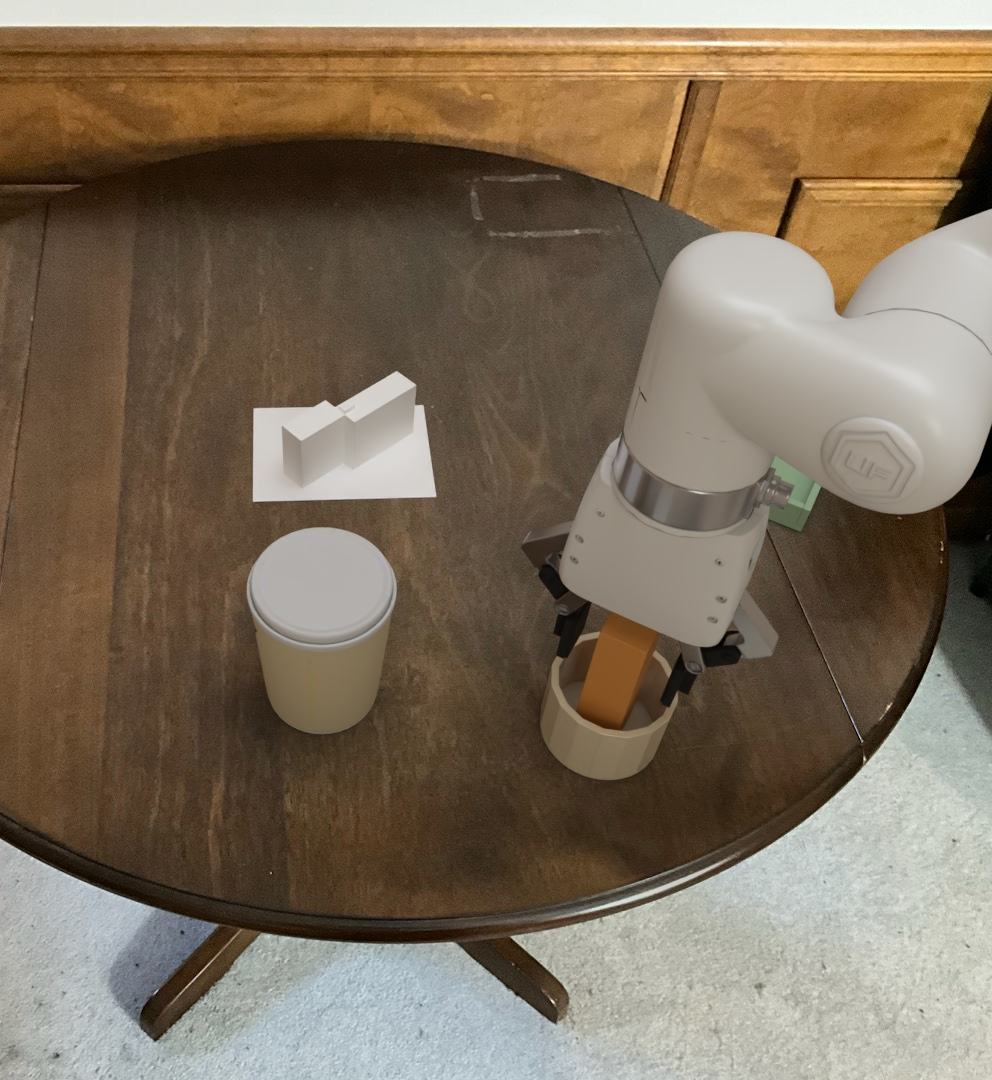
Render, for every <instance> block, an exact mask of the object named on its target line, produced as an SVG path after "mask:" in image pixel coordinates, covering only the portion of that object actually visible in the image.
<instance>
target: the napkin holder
mask: <svg viewBox="0 0 992 1080" xmlns="http://www.w3.org/2000/svg"><path fill="white" fill-rule="evenodd" d="M416 395H417V384H416V383H415V382H413V381H412V380H410V378H409V379H408V377H406V376H404V375H403V374H402V373H401V372H399V371H397V370H396V371H394V372H392V373H391V374H389V375H387V376H386V377H384V378H383V379H381V380H379V381H377V382H376V383H374V384H372V385H370V386H369V387H367V388H365V389H363V390H362V391H360V392H358V393H356V394H354V395H353V396H351V397H350V398H348V399H347V400H345V401H343V402H341V403H339V404H337V405H336V406H334V405H333V404H332V403H330V402H329V401H327V400H326V399H325V400H323V401H322V402H320V403H318V404H316V405H315V406H309V407H308V406H303V407H254V408H253V416H252V417H253V419H252V421H253V422H252V423H253V424H252V425H253V427H252V428H253V429H252V430H253V433H252V502H253V503H257V502H258V503H260V502H262V503H263V502H298V501H299V502H300V501H301V502H302V501H335V500H339V501H340V500H374V499H375V500H376V499H380V500H381V499H417V498H420V499H421V498H437V492H436V483H435V476H434V470H433V464H432V462H433V461H432V456H431V449H430V443H429V442H430V441H429V436H428V428H427V421H426V413H425V406H424V404H416Z"/></svg>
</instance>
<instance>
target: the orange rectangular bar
mask: <svg viewBox="0 0 992 1080" xmlns="http://www.w3.org/2000/svg"><path fill="white" fill-rule="evenodd" d="M599 631H600V634H599V637H598V640H597V644H596V647H595V650H594V653H593V657H592V660H591V663H590V666H589V670H588V673H587V676H586V679H585V683H584V686H583V689H582V693H581V696H580V699H579V702H578V706H577V709H576V712H577V713H578V714H579V715H580V716H581V717H582V718H583V719H585V720H587V721H589V722H591V723H593V724H595V725H598V726H600V727H602V728H604V729H612V730H620V731H622V730H623V728H624V726H625V724H626V722H627V720H628V718H629V716H630V714H631V712H632V710H633V707H634V704H635V702H636V699H637V696H638V694H639V691H640V688H641V686H642V683H643V680H644V678H645V675H646V672H647V670H648V667H649V665H650V662H651V659H652V657H653V654H654V651H655V650H656V648H657V646H658V643H659V641H660V638H661V635H662V633H660V632H657V631H655V630H653V629H650V628H648V627H646V626H644V625H641V624H639V623H637V622H634V621H632V620H630V619H628V618H625V617H623V616H621V615H619V614H616V613H614V612H612V611H610V613H609V615H608V616H607V618H606V620H605V622H604V624H603V625H602V628H601V630H599Z"/></svg>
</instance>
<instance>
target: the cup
mask: <svg viewBox="0 0 992 1080" xmlns="http://www.w3.org/2000/svg"><path fill="white" fill-rule="evenodd" d="M600 631H601V630H599V631H594V632H591V633H586V634H581V635H580V637H579V638H578V640H577V642H576V644H575V646H574V647H573V649H572V651H571V653H570V655H569V656H568V658H564V659H562V658H560V657H558V656H556V655H555V656H556V657H555V658H554V660H553V662H552V664H551V667H550V669H549V670H550V671H549V675H548V678H547V682H546V686H545V689H544V694H543V697H542V701H541V704H540V714H539V728H540V734H541V736H542V739H543V742H544V743H545V745H546V747H547V749H548V750H549V752H550V753H551V754H552V755H553V756H554V758H555V759H556V760H557V761H559V763H561V764H562V765H563V766H565V767H566V768H567V769H569V770H571V771H572V772H574V773H575V774H577V775H578V774H579V775H581V776H583V777H585V778H590V779H594V780H600V781H616V780H623V779H626V778H630V777H632V776H635V775H636V774H638V773H639V772H642V770H644V769H645V768H646V767H647V766H648V765H650V763H651V761H653V759H654V758H655V756H656V753H657V751H658V749H659V747H660V745H661V743H662V740H663V738H664V735H665V733H666V731H667V728H668V726H669V724H670V722H671V719H672V717H673V715H674V712H675V710H676V708H677V705H678V703H679V691H677V693H676V695H675V697H674V700H673V702H672V704H671V706H670V708H669V707H666V706H664V705H662V703H663V702H661V701H660V699H661V697H662V694H663V692H664V689H665V687H666V684H667V682H668V679H669V677H670V674H671V672H672V670H673V669H672V668H671V666H670V664H669V662H668V661H667V659H666V658H664V657H663V656H662V654H660V653H659V652H658V651H657V650H656V649H655V651H654V654H653V657H652V659H651V662H650V665H649V667H648V670H647V672H646V675H645V678H644V680H643V683H642V686H641V688H640V691H639V694H638V696H637V699H636V702H635V704H634V707H633V710H632V712H631V714H630V716H629V718H628V720H627V722H626V724H625V726H624V728H623V730H622V731H620V730H612V729H604V728H602V727H600V726H598V725H595V724H593V723H591V722H589V721H587V720H585V719H583V718H582V717H581V716H580V715H579V714H578V713H577V712H576V709H577V706H578V702H579V699H580V696H581V693H582V689H583V686H584V683H585V679H586V676H587V673H588V670H589V666H590V663H591V660H592V657H593V653H594V650H595V647H596V644H597V640H598V637H599V634H600Z"/></svg>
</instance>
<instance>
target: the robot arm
mask: <svg viewBox="0 0 992 1080" xmlns="http://www.w3.org/2000/svg"><path fill="white" fill-rule="evenodd" d="M835 304H836V301H835V292H834V287H833V284H832V282H831V279H830V277H829V275H828V273H827V271H826V270H825V269H824V267H823V266H822V265H821V263H819V262H818V261H817V260H816V259H815V258H814V257H813V256H811V255H810V253H808V252H806V251H805V250H804V249H802V247H799V246H797V245H796V244H793V243H792V242H789V241H787V240H784V239H782V238H779V237H775V236H773V235H770V234H765V233H759V232H755V231H746V230H743V231H742V230H730V231H723V232H717V233H712V234H709V235H706V236H702V237H699V238H698V239H696V240H694V241H692V242H691V243H688V244H687V245H686V246H685V247H684V248H682V249H681V250H680V251H679V253H677V254H676V256H675V257H674V259H673V260H672V261H671V262H670V264H669V266H668V267H667V270H666V272H665V275H664V277H663V280H662V283H661V286H660V290H659V293H658V296H657V300H656V304H655V307H654V311H653V315H652V319H651V323H650V326H649V329H648V334H647V337H646V341H645V343H644V348H643V352H642V356H641V360H640V362H639V367H638V371H637V374H636V378H635V382H634V385H633V388H632V393H631V396H630V400H629V404H628V408H627V411H626V415H625V420H624V423H623V425H622V429H621V432H622V433H621V432H620V434H621V437H619V436H618V437H619V438H618V437H616V438H615V439H614V440H613V441H611V443H609V445H608V446H607V448H606V450H605V451H604V453H603V455H602V456H601V458H600V460H599V461H598V464H597V466H596V468H595V469H594V472H593V475H592V477H591V479H590V481H589V482H588V485H587V487H586V489H585V492H584V494H583V497H582V499H581V501H580V503H579V506H578V509H577V511H576V514H575V516H574V519H572V520H567V521H563V522H559V523H554V524H549V525H546V526H542V527H537V528H534V529H531V530H529V531H528V533H527V534H526V536H525V537H524V539H523V541H522V542H521V544H520V549H521V550H522V552H523V553H524V555H525V556H526V557H527V559H528V560H529V562H530V563H531V564H532V566H533V567H534V568H537V570H538V573H537V575H538V578H539V580H540V581H541V582H542V584H543V585H544V587H545V588H546V589H547V590H548V592H549V593H550V594H551V596H552V597H553V599H554V600H555V601H554V603H553V605H552V607H553V609H554V611H555V612H556V613H557V616H556V620H555V626H554V628H553V633H552V634H553V635H555V636H557V637H560V639H559V641H558V646H557V650H556V654H555V656H558V657H560V658H562V659H564V658H568V656H569V655H570V653H571V651H572V649H573V647H574V646H575V644H576V642H577V640H578V638H579V637H580V635H582V633H583V631H584V629H585V627H586V624H587V620H588V617H589V613H590V610H591V606H592V604H593V605H594V604H595V605H597V606H599V607H601V608H603V609H604V610H607V611H609V612H611V611H612V612H614V613H616V614H619V615H621V616H623V617H625V618H628V619H630V620H632V621H634V622H637V623H639V624H641V625H644V626H646V627H648V628H650V629H653V630H655V631H657V632H660V633H661V635H664V636H667V637H669V638H672V639H673V640H677V641H678V644H679V649H680V652H679V654H678V657H677V659H676V661H675V663H674V666H673V667H672V669H671V670H672V672H671V674H670V677H669V679H668V682H667V684H666V687H665V689H664V692H663V694H662V697H661V699H660V701H661V702H663V703H662V705H664V706H666V707H669V708H670V706H671V704H672V702H673V700H674V697H675V695H676V693H677V691H678V692H679V693H683V694H685V695H687V696H689V695H690V692H691V690H692V688H693V687H694V684H695V681H696V679H697V677H698V676H700V675H703V674H705V671H706V670H707V668H715V667H716V668H717V667H723V666H732V665H736V664H738V663H739V662H740V660H745V661H750V660H756V659H757V660H758V659H764V658H769V657H772V656H773V655H774V653H775V650H776V648H777V646H778V643H779V640H780V635H779V634H778V633H777V631H776V629H775V628H774V627H773V625H772V624H771V622H770V621H769V619H768V618H767V617H766V615H765V613H764V612H763V611H762V610H761V608H760V606H759V605H758V604H757V602H756V601H755V599H754V598H753V596H752V595H751V594H750V592H749V591H748V587H749V584H750V582H751V579H752V576H753V573H754V570H755V569H756V565H757V562H758V559H759V557H760V554H761V551H762V548H763V544H764V541H765V537H766V532H767V527H768V523H769V519H768V518H769V510H770V504H771V505H773V506H776V507H778V508H781V509H783V510H784V509H785V506H786V504H787V502H788V500H789V498H790V495H791V493H792V491H793V489H794V486H795V485H793V484H790V483H787V482H785V481H782V480H781V478H782V477H779V476H777V475H774V473H775V471H776V469H775V468H772V467H771V465H772V463H773V460H774V458H775V456H777V457H779V458H780V459H782V460H783V461H785V462H786V463H788V464H789V465H791V466H792V467H793V468H795V469H796V470H798V471H799V472H801V473H802V474H804V475H805V476H807V477H808V478H810V479H811V480H813V481H814V482H816V483H817V484H819V485H820V486H821V488H823V489H824V490H826V491H828V492H830V493H831V494H833V495H835V496H836V497H839V498H840V499H842V500H845V501H847V502H849V503H851V504H853V505H854V506H855V505H856V506H858V507H861V508H864V509H866V510H867V509H868V510H869V511H870V510H871V511H873V512H877V513H881V514H890V515H915V514H918V513H922V512H927V511H930V510H932V509H935V508H937V507H939V506H941V505H943V504H944V503H947V501H950V500H951V499H952V498H954V496H956V495H957V494H958V493H959V492H960V491H961V490H962V489H963V488H964V487H965V485H966V484H967V482H968V481H969V480H970V478H971V477H972V475H973V473H974V471H975V469H976V467H977V466H978V463H979V461H980V459H981V456H982V453H983V450H984V448H985V445H986V442H987V439H988V436H989V433H990V430H991V427H992V208H990V209H988V210H984V211H981V212H979V213H976V214H974V215H971V216H968V217H965V218H963V219H960V220H957V221H955V222H952V223H950V224H947V225H945V226H942V227H940V228H938V229H935V230H932V231H930V232H927V233H926V234H923V235H921V236H919V237H917V238H915V239H914V240H911V241H910V242H907V243H905V244H904V245H903V246H901V247H899V248H898V249H896V250H895V251H893V252H892V253H890V254H889V255H887V256H886V257H884V258H883V259H881V260H880V261H879V262H878V263H877V264H876V265H875V266H874V267H873V268H872V269H871V270H870V271H869V272H868V273H867V274H866V275H865V276H864V278H863V279H862V280H861V281H860V283H859V285H858V286H857V288H856V290H855V291H854V293H853V294H852V296H851V298H850V299H849V301H848V303H847V304H846V306H845V307H844V309H843V312H842V313H841V315H840V314H838V313H837V311H836V305H835ZM770 467H771V468H770ZM559 552H562V553H559ZM731 623H732V625H733V626H734V627H735V630H734V629H733V630H728V628H729V627H730V625H731Z"/></svg>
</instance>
